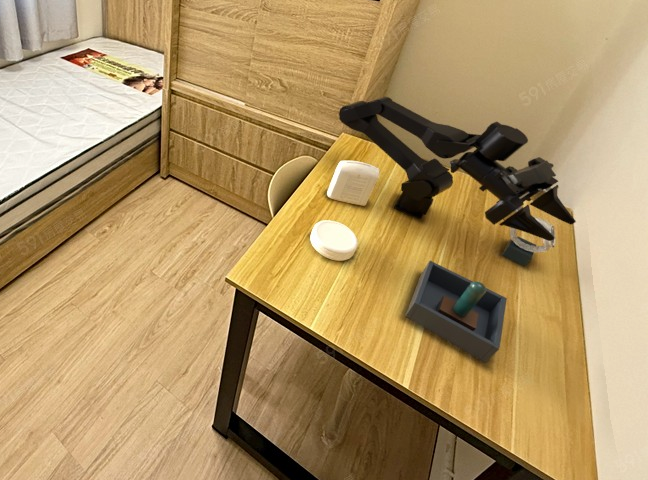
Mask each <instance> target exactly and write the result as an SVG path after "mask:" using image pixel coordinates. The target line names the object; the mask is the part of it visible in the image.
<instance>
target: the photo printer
mask: <svg viewBox="0 0 648 480" xmlns="http://www.w3.org/2000/svg"><path fill="white" fill-rule="evenodd" d="M379 177H380V168H378V167H377V166H375V165H372V164H369V163H366V162H363V161H357V160H340V161H339V162H338V164H337V165H336V168H335V170H334V174H333V176H332V178H331V180H330V183H329V187H328V188H327V191H326V195H327V197H328V198H329V199H331V200H335V201H339V202H343V203H348V204H352V205H357V206H363V207H364V206H367V203H368V201H369V199H370V197H371V195H372V193H373V191H374V188H375V186H376V184H377V182H378V180H379Z"/></svg>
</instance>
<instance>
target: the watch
mask: <svg viewBox="0 0 648 480" xmlns="http://www.w3.org/2000/svg"><path fill="white" fill-rule="evenodd" d="M533 217H534V218H535V219H536V220H537V221H538V222H539V223H541V224H542V225H543V226H544V227H545V228H546V229H547V230H548V231H549V232H550V233H551V234H552V235H553V236H554V237H555V239H553V240H552V241H548V240H545V239H543V238H541V239H542V243H543V245H537V244H535V243H533V242H532V241H529V240H527V239H525V238H522V237H521V236H518V233H517V229H514V228H511V227H509V236H510V239H509V240H508V241H507V243H506V245H505V247H504V250H503V251H502V253H501V256H503V257H504V258H506V259H509V260H511V261H512V262H515V263H516V264H519V266H523V267H526V266H527V265H528V263H529V262H530V261H531V259H532V258H533V256H534V254H535V253H544V252H548V251H550V249H554V248H555V245H556V230H555V226H554V225H552V224H550V223H549V222H548V221H547V220H545V219H542V218H540V217H538V216H533Z"/></svg>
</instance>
